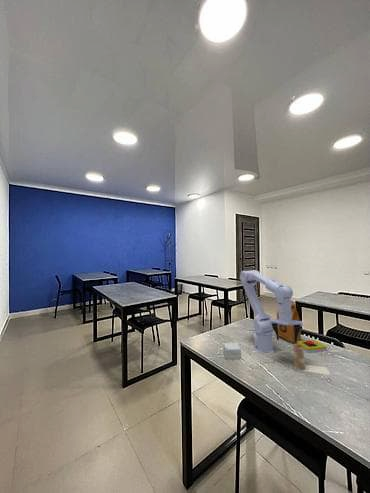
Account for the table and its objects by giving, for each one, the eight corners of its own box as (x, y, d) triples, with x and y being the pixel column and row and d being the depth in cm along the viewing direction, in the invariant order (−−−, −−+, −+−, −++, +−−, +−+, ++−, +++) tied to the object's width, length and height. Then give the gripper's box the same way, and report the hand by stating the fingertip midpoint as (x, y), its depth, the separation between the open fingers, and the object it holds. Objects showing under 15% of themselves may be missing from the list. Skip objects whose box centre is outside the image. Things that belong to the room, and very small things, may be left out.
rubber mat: (281, 373, 94) (281, 371, 94) (280, 357, 107) (280, 356, 107) (335, 382, 86) (335, 381, 86) (326, 364, 99) (326, 363, 99)
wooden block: (295, 368, 96) (293, 348, 96) (294, 364, 100) (292, 344, 100) (305, 369, 95) (303, 349, 95) (304, 365, 98) (302, 345, 99)
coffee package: (290, 344, 120) (289, 305, 121) (275, 336, 132) (273, 300, 132) (304, 341, 123) (302, 303, 124) (288, 333, 135) (286, 299, 135)
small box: (238, 351, 114) (238, 342, 115) (241, 359, 107) (240, 349, 107) (223, 352, 115) (223, 342, 115) (225, 359, 107) (225, 349, 107)
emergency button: (293, 339, 118) (317, 336, 120) (293, 347, 118) (318, 344, 120) (304, 346, 109) (331, 344, 111) (305, 355, 109) (331, 352, 111)
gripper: (268, 313, 102) (270, 341, 101) (303, 314, 97) (305, 345, 96) (268, 309, 109) (270, 336, 108) (300, 310, 103) (302, 339, 103)
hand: (286, 340), depth 103 cm, fingers open, 7 cm apart
